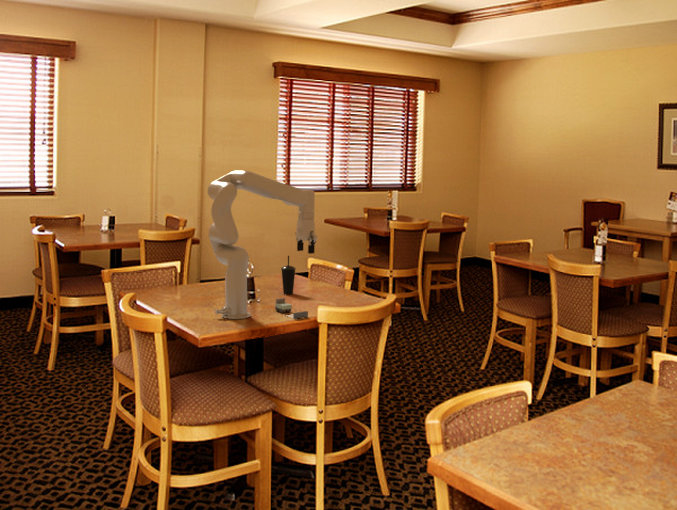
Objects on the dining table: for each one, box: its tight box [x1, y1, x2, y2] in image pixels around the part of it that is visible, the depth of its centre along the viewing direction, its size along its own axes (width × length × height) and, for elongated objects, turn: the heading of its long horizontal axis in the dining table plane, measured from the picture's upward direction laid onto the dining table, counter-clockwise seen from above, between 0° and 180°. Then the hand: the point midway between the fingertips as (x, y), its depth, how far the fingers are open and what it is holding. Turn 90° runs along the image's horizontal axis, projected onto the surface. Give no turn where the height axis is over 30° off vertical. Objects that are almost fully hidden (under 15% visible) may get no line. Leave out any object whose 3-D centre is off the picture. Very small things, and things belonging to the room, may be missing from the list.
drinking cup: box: [280, 255, 297, 295], centre depth 356 cm, size 8×8×20 cm
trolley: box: [274, 297, 293, 314], centre depth 318 cm, size 7×6×6 cm
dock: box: [285, 310, 309, 320], centre depth 310 cm, size 7×10×3 cm
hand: (305, 252), depth 327 cm, fingers open, 9 cm apart
